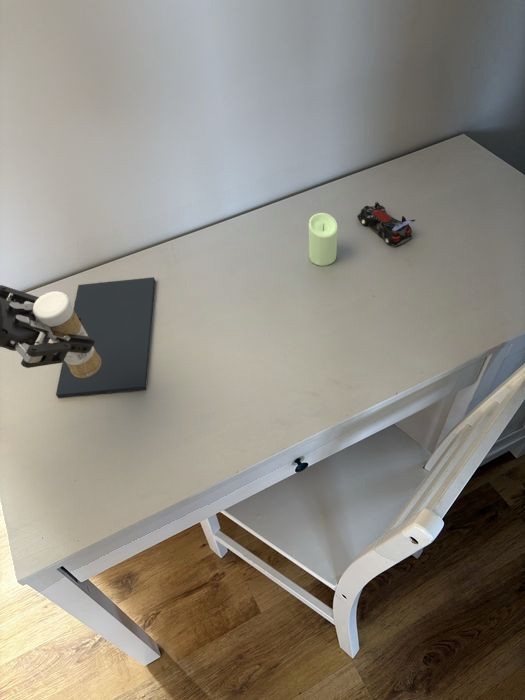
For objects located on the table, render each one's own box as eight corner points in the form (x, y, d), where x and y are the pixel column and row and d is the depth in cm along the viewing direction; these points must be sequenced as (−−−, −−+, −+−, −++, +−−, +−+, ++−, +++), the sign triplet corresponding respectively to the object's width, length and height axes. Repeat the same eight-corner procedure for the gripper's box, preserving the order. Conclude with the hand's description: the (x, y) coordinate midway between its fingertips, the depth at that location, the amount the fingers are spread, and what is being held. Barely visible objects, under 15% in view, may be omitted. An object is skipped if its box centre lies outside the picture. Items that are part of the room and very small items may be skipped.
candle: (341, 259, 98) (343, 224, 92) (318, 269, 97) (318, 234, 90) (326, 244, 101) (327, 208, 94) (304, 254, 100) (303, 218, 93)
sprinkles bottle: (93, 348, 79) (59, 284, 68) (107, 368, 76) (74, 304, 66) (65, 364, 77) (26, 301, 67) (78, 385, 75) (39, 322, 64)
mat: (146, 389, 84) (144, 386, 83) (58, 398, 84) (55, 394, 83) (155, 280, 98) (154, 277, 98) (80, 288, 99) (78, 284, 98)
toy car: (391, 250, 98) (393, 233, 95) (349, 217, 105) (351, 200, 102) (416, 237, 100) (419, 219, 97) (373, 205, 107) (375, 188, 103)
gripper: (-25, 329, 54) (118, 345, 67) (-57, 253, 62) (76, 281, 75) (-49, 383, 57) (92, 389, 70) (-77, 304, 65) (55, 323, 78)
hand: (83, 333), depth 73 cm, fingers closed on sprinkles bottle, 4 cm apart
